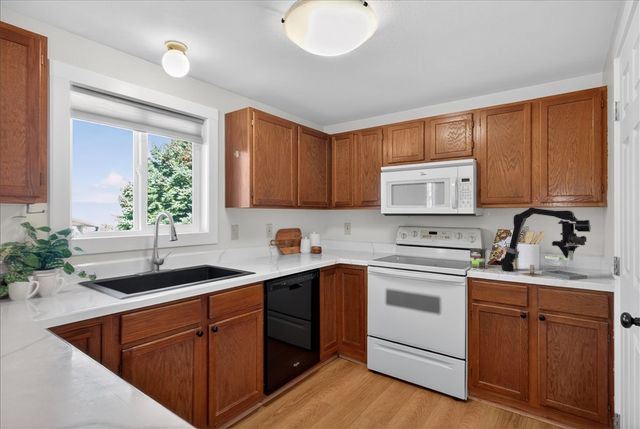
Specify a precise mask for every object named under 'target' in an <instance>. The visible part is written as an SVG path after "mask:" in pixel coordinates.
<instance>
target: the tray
mask: <svg viewBox="0 0 640 429" xmlns="http://www.w3.org/2000/svg"><path fill="white" fill-rule="evenodd" d="M541 275H546V277H547V276H548V277H551V278H558V279H562V280H568V281H573V280H587V279H588V275H587V274H582V273H577V272H570V271H565V270H560V269H555V270H541Z"/></svg>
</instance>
